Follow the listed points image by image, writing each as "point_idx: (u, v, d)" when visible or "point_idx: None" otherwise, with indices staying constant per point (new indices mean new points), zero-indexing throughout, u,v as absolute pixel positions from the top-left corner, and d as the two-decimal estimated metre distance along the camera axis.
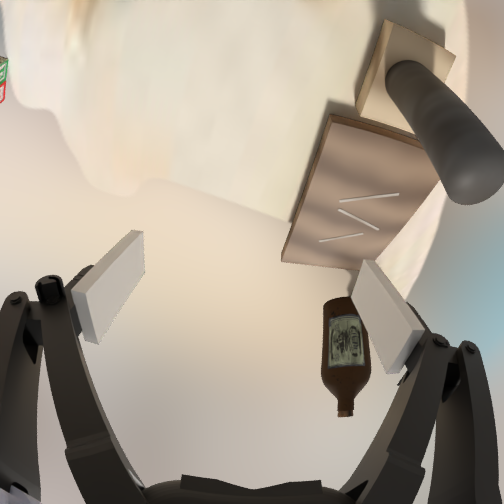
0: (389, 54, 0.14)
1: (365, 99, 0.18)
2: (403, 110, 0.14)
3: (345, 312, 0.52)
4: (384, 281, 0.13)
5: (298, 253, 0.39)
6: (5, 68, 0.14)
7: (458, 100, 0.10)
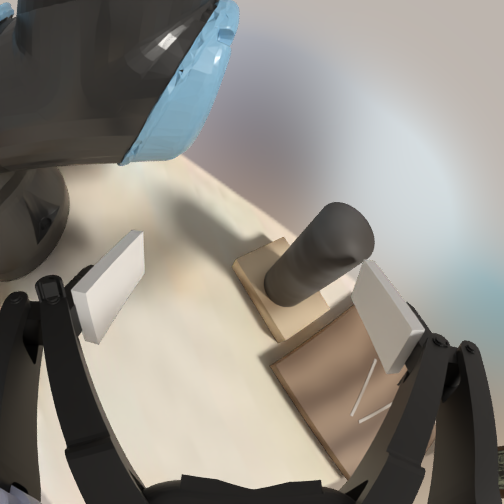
0: (254, 280, 0.26)
1: (275, 326, 0.25)
2: (293, 290, 0.22)
3: None
4: (384, 281, 0.13)
5: None
6: None
7: None
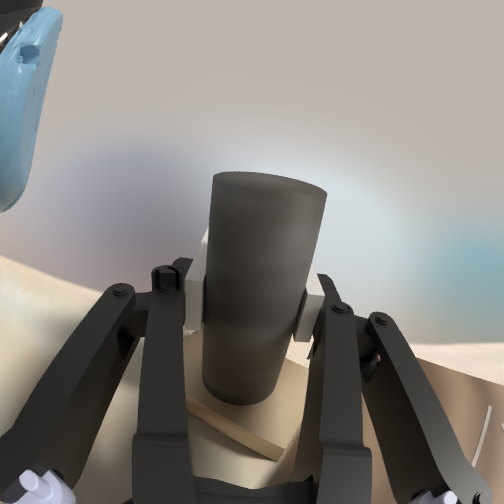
0: (188, 385, 0.14)
1: (255, 436, 0.11)
2: (245, 356, 0.11)
3: None
4: None
5: None
6: None
7: None
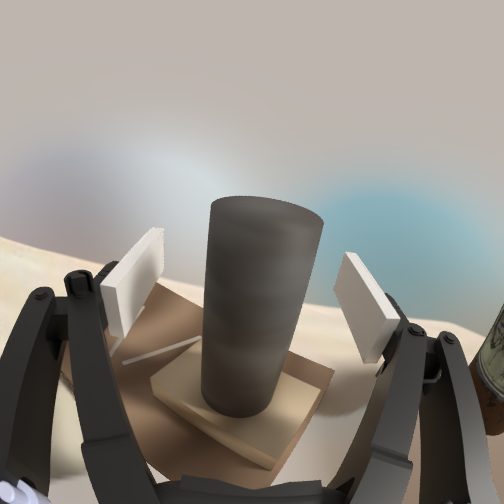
0: (187, 397, 0.14)
1: (250, 448, 0.12)
2: (241, 374, 0.11)
3: (479, 383, 0.15)
4: (363, 272, 0.14)
5: (217, 471, 0.11)
6: None
7: None
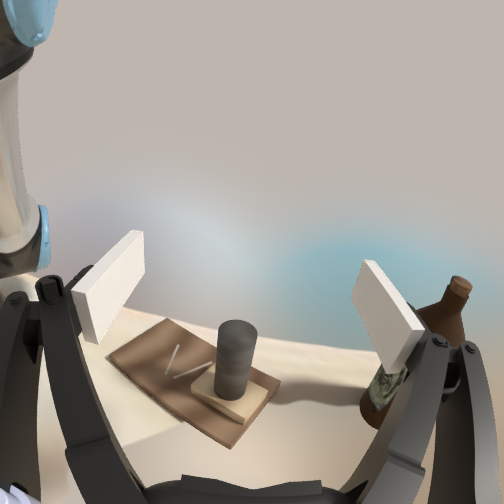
0: (208, 392, 0.33)
1: (234, 413, 0.31)
2: (230, 383, 0.31)
3: (368, 397, 0.34)
4: (384, 281, 0.13)
5: (220, 424, 0.31)
6: None
7: None
